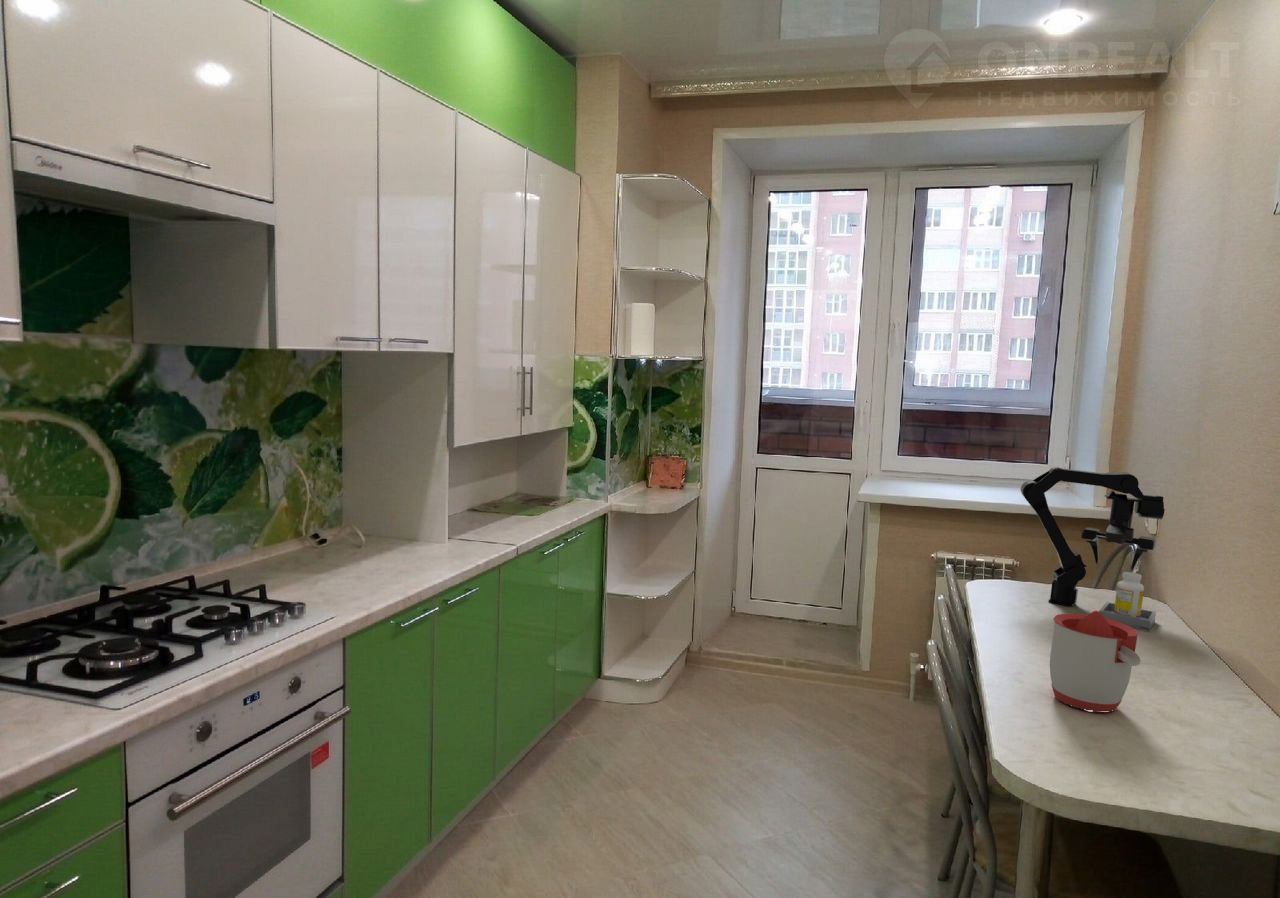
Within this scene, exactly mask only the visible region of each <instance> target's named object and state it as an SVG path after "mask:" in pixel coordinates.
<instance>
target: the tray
mask: <svg viewBox="0 0 1280 898" xmlns="http://www.w3.org/2000/svg"><path fill="white" fill-rule="evenodd" d="M1114 607H1115V602H1109V601H1106V602H1105V603H1104V604H1103V606H1102V607H1100V609H1099V610H1098V611H1099V612H1100V613H1101V614H1102V615H1103V617H1104V618H1106V619H1110V620H1113V621H1117V622H1120V623H1122V624H1125V625H1127V626H1130V627H1131V628H1133V629H1135V630H1139V631H1143V632H1149V633H1150V631H1151V629H1152V627H1153V626H1154V624H1155V622H1156V615H1157V611H1154V610H1148V609H1143V608H1142V609H1141V616H1140V618H1136V617H1131V616H1126V615H1122V614H1117V613H1114Z"/></svg>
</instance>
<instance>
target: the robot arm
mask: <svg viewBox="0 0 1280 898" xmlns="http://www.w3.org/2000/svg"><path fill="white" fill-rule="evenodd" d="M1059 482H1064V483H1065V482H1066V483H1073V484H1081V485H1086V486H1087V485H1088V486H1097V487H1101V488H1102V487H1103V488H1106V489H1110V490H1111V491H1109V492H1108V493H1106V494H1105V495H1104V497H1105V498H1106V499H1108V500H1111V505H1110V506H1111V507H1110V513H1109V522H1108V524H1107V526H1106V531H1105V532H1101V531H1100V530H1101V529H1098V528H1095V527H1094V528H1093V527H1085V528H1084V529H1083V530H1082V531H1081V539H1084V540H1085V542H1086V543H1089V544H1090V547H1091V549H1092V552H1093V556H1094V560H1095V564H1096V565H1098V564H1099V562H1100V541H1101V539H1102V540H1105V541H1106V543H1116V544H1117V545H1124V544H1125V543H1126V544H1132V545H1137V547H1135V552H1134V555H1133V559H1132V563H1131V566H1130V567H1131V568H1130V570H1131V571H1134V570H1135V567H1136V565H1137V564H1138V561H1139V559H1140V557H1141V556H1142V555H1143V554H1144V553H1148V552H1149V551H1153V550H1155V548H1156V544H1157V540H1156V538H1154V537H1150V536H1143V535H1140V536H1139V538H1138V537H1134V535H1135V528H1132V523H1133V515H1134V514H1137V515H1138V517H1139V518H1143V519H1152V520H1153V519H1154V520H1162V519H1163V518H1164V515H1165V510H1166V509H1165V504H1164V502H1165V501H1164V496H1162V495H1149V494H1144V493H1143V492H1142V491H1141V489H1140V487H1139V485H1140V484H1139V483H1140V481H1139V479H1138V478H1137V477H1136V476H1135V475H1133V474H1131V473H1129V472H1126V471H1113V472H1095V471H1086V470H1079V469H1072V468H1071V469H1070V468H1063V467H1060V466H1053V467H1051V468H1050V469H1049V470H1048V471H1046V472H1043V474H1041V475H1039V476H1038V477H1035V478H1034V479H1032V480H1027V481H1025V482H1023V483H1022V485H1021V486H1020V493H1021V495H1022V496H1023V498H1024V499H1025V501H1026V502H1027V503H1028V504H1029V505H1030V507H1031V508H1032V509H1033V510H1034V512H1035V513H1036V514H1037V517H1038V519H1039V521H1040V522H1041V524H1042V526H1043V529H1044V530H1045V532H1046V534H1047V536H1048V537H1049V540H1050V542H1051V544H1052V545H1053V547H1054V549H1055V550H1056V553H1057V556H1058V561H1059V564H1060V566H1059V567H1058V568H1057V569H1055V570H1053V571H1052V575H1053V578H1054V579H1053V580H1052V582H1051V589H1050V596H1049V597H1050V598H1049V599H1048V603H1052V604H1053V603H1054V604H1057V605H1062V606H1066V607H1073V606H1074V605H1075V604H1077V601H1078V600H1077V599H1078V596H1079V595H1078V593H1079V589H1078V588H1077V586H1078V583H1079V581H1081V580H1083V579H1084V578H1085V576H1086V574H1087V571H1086V568H1087V567H1088V566H1087V565H1086V563H1085V562H1084V561H1083V558H1082V556H1081V554H1080V552H1079V551H1078V550H1075V551H1072V549H1071V548H1070V546H1069V544H1068V542H1067V540H1066V539H1065V537H1064V535H1063V533H1062V531H1061V529H1060V527H1059V525H1058V524H1057V523H1058V522H1056V520H1055V518H1054V516H1053V514H1052V512H1051V511H1050V509H1049V505H1048V501H1047V497H1046V494H1045V493H1046V492H1049V490H1051V488H1053V487H1054V486H1055V485H1056V484H1058V483H1059ZM1116 492H1119V493H1116ZM1127 494H1129V495H1131V496H1133V497H1134V498H1133V497H1128V496H1127Z"/></svg>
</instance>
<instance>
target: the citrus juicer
mask: <svg viewBox="0 0 1280 898" xmlns="http://www.w3.org/2000/svg"><path fill="white" fill-rule="evenodd" d="M1053 621H1054V623H1053V631H1052V639H1051V647H1050V655H1049V673H1050V680H1051V688H1052V692H1053V696H1054V697H1055V698H1056V699H1057V700H1058V699H1059V700H1058V701H1059V702H1061V701H1062V702H1061V703H1063V702H1064V703H1063V704H1065V703H1066V704H1065V705H1067V704H1069V705H1072V706H1074V707H1073V708H1075V707H1077V708H1076V709H1078V708H1082V709H1086V710H1093V711H1112V710H1114V711H1116V710H1117V708H1118V707H1119V706H1120V704H1121V703H1122V700H1123V698H1124V695H1125V693H1126V691H1127V689H1128V686H1129V683H1130V680H1131V673H1132V667H1137V666H1139V665H1140V664H1141V657H1140V656H1139V655H1138V653H1136V646H1137V640H1138V636H1139V635H1138V631H1137V629H1133V628H1131V627H1130V626H1127V625H1125V624H1122V623H1120V622H1117V621H1113V620H1110V619H1106V618H1104V617H1103V615H1102V614H1101V613H1100V612H1099V610H1094V611H1093V610H1092V612H1090V613H1088V614H1082V613H1060V614H1056V615H1054V617H1053ZM1069 705H1068V706H1069ZM1072 706H1071V707H1072ZM1082 709H1081V710H1082ZM1115 709H1116V710H1115ZM1112 712H1113V711H1112Z"/></svg>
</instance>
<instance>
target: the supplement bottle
mask: <svg viewBox="0 0 1280 898" xmlns="http://www.w3.org/2000/svg"><path fill="white" fill-rule="evenodd" d="M1121 577H1122V580H1120V581H1118V582H1117V584H1116V593H1115V600H1114V601H1115V602H1114V603H1115V607H1114V613H1117V614H1122V615H1126V616H1131V617H1136V618H1140V616H1141V609H1143V608H1142V607H1143V600H1144V592H1145V586H1144V585H1143V584H1142V583H1141V581H1142V574H1140V573H1136V572H1131V571H1123V572H1122V575H1121Z"/></svg>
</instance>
